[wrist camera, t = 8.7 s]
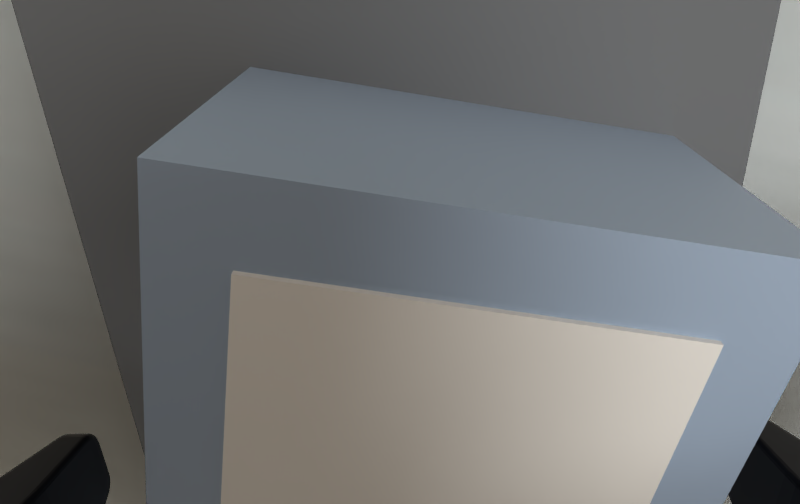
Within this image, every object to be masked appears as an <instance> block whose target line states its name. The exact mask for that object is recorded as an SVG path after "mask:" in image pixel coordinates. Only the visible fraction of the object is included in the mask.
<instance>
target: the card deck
mask: <svg viewBox="0 0 800 504" xmlns="http://www.w3.org/2000/svg"><path fill="white" fill-rule="evenodd" d="M137 175H138V213H139V250H140V288H141V325H142V362H143V400H144V437H145V475H146V504H723V503H724V501H725V499H726V498H727V496H728V494H729V492H730V490H731V488H732V486H733V485H734V483H735V481H736V479H737V477H738V475H739V473H740V472H741V470H742V468H743V466H744V464H745V462H746V460H747V459H748V457H749V455H750V453H751V451H752V449H753V447H754V446H755V444H756V442H757V440H758V438H759V436H760V434H761V433H762V431H763V429H764V427H765V425H766V423H767V421H768V420H769V418H770V416H771V414H772V412H773V410H774V408H775V406H776V405H777V403H778V401H779V399H780V397H781V395H782V393H783V392H784V390H785V388H786V386H787V384H788V382H789V380H790V379H791V377H792V375H793V373H794V371H795V369H796V367H797V366H798V364H799V362H800V229H799V228H798V227H796V226H795V225H793V224H792V223H791V222H789V221H788V220H787V219H785V218H784V217H783V216H781V215H780V214H779V213H777V212H776V211H775V210H773V209H772V208H771V207H769V206H768V205H766V204H765V203H764V202H762V201H761V200H760V199H758V198H757V197H756V196H754V195H753V194H752V193H750V192H749V191H748V190H746V189H745V188H743V187H742V186H741V185H739V184H738V183H737V182H735V181H734V180H733V179H731V178H730V177H729V176H727V175H726V174H725V173H723V172H722V171H720V170H719V169H718V168H716V167H715V166H714V165H712V164H711V163H710V162H708V161H707V160H706V159H704V158H703V157H702V156H700V155H699V154H698V153H696V152H695V151H693V150H692V149H691V148H689V147H688V146H687V145H685V144H684V143H683V142H681V141H680V140H679V139H677V138H676V137H675V136H671V135H664V134H658V133H652V132H646V131H640V130H634V129H628V128H622V127H616V126H609V125H603V124H597V123H591V122H585V121H579V120H573V119H567V118H560V117H554V116H548V115H542V114H536V113H530V112H524V111H518V110H512V109H505V108H499V107H493V106H487V105H481V104H475V103H469V102H463V101H456V100H450V99H444V98H438V97H432V96H426V95H420V94H414V93H407V92H401V91H395V90H389V89H383V88H377V87H371V86H365V85H359V84H352V83H346V82H340V81H334V80H328V79H322V78H316V77H310V76H303V75H297V74H291V73H285V72H279V71H273V70H267V69H261V68H255V67H249V68H248V69H247V70H246V71H244V72H243V73H242V74H241V75H239V76H238V77H237V78H236V79H234V80H233V81H232V82H231V83H229V84H228V85H227V86H226V87H224V88H223V89H222V90H221V91H219V92H218V93H217V94H216V95H214V96H213V97H212V98H211V99H209V100H208V101H207V102H206V103H204V104H203V105H202V106H201V107H199V108H198V109H197V110H196V111H194V112H193V113H192V114H191V115H189V116H188V117H187V118H186V119H184V120H183V121H182V122H181V123H179V124H178V125H177V126H176V127H174V128H173V129H172V130H170V131H169V132H168V133H167V134H165V135H164V136H163V137H162V138H160V139H159V140H158V141H157V142H155V143H154V144H153V145H152V146H150V147H149V148H148V149H147V150H145V151H144V152H143V153H142V154H140V155H139V156H138V157H137Z"/></svg>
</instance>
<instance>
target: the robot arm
mask: <svg viewBox="0 0 800 504" xmlns="http://www.w3.org/2000/svg"><path fill="white" fill-rule="evenodd" d="M109 489H110V476H109V472H108V469H107V466H106V463H105V460H104V457H103V454H102V451H101V448H100V445H99V442H98V440H97V438H96V437H95V436H94V435H92V434H67V435H63V436H61V437H59V438H58V439H56V440H55V441H53V442H52V443H50V444H49V445H47V446H46V447H44V448H43V449H42V450H40V451H39V452H37V453H36V454H34V455H33V456H31V457H30V458H28V459H27V460H25V461H24V462H22V463H21V464H19V465H18V466H16V467H15V468H14V469H12V470H11V471H9V472H8V473H6V474H5V475H3V476H2V477H0V504H105V503H106V500H107V497H108V493H109ZM728 495H729V497H730V500H731V503H732V504H800V439H798V438H797V437H795V436H794V435H792V434H790V433H789V432H787V431H785V430H784V429H782V428H781V427H779V426H777V425H776V424H774V423H773V422H771V421H769V420H768V421H767V423H766V425H765V427H764V429H763V431H762V433H761V434H760V436H759V438H758V440H757V442H756V444H755V446H754V447H753V449H752V451H751V453H750V455H749V457H748V459H747V460H746V462H745V464H744V466H743V468H742V470H741V472H740V473H739V475H738V477H737V479H736V481H735V483H734V485H733V486H732V488H731V490H730V492H729V494H728Z"/></svg>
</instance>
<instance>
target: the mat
mask: <svg viewBox="0 0 800 504" xmlns="http://www.w3.org/2000/svg"><path fill="white" fill-rule="evenodd" d="M11 1H12V4H13V8H14V11H15V15H16V18H17V21H18V25H19V28H20V32H21V35H22V38H23V42H24V45H25V49H26V52H27V56H28V59H29V62H30V66H31V69H32V73H33V76H34V79H35V83H36V86H37V90H38V93H39V97H40V100H41V103H42V107H43V110H44V114H45V117H46V120H47V124H48V127H49V131H50V134H51V137H52V141H53V144H54V148H55V151H56V155H57V158H58V161H59V165H60V168H61V172H62V175H63V178H64V182H65V185H66V189H67V192H68V196H69V199H70V202H71V206H72V209H73V213H74V216H75V219H76V223H77V226H78V230H79V233H80V236H81V240H82V243H83V247H84V250H85V254H86V257H87V260H88V264H89V267H90V271H91V274H92V277H93V281H94V284H95V288H96V291H97V295H98V298H99V301H100V305H101V308H102V312H103V315H104V318H105V322H106V325H107V329H108V332H109V336H110V339H111V342H112V346H113V349H114V353H115V356H116V359H117V363H118V366H119V370H120V373H121V376H122V380H123V383H124V387H125V390H126V394H127V397H128V400H129V404H130V407H131V411H132V414H133V417H134V421H135V424H136V428H137V431H138V435H139V438H140V441H141V445H142V448H143V452H144V455H145V437H144V400H143V362H142V325H141V288H140V250H139V213H138V175H137V157H138V156H139V155H140V154H142V153H143V152H144V151H145V150H147V149H148V148H149V147H150V146H152V145H153V144H154V143H155V142H157V141H158V140H159V139H160V138H162V137H163V136H164V135H165V134H167V133H168V132H169V131H170V130H172V129H173V128H174V127H176V126H177V125H178V124H179V123H181V122H182V121H183V120H184V119H186V118H187V117H188V116H189V115H191V114H192V113H193V112H194V111H196V110H197V109H198V108H199V107H201V106H202V105H203V104H204V103H206V102H207V101H208V100H209V99H211V98H212V97H213V96H214V95H216V94H217V93H218V92H219V91H221V90H222V89H223V88H224V87H226V86H227V85H228V84H229V83H231V82H232V81H233V80H234V79H236V78H237V77H238V76H239V75H241V74H242V73H243V72H244V71H246V70H247V69H248V68H249V67H255V68H261V69H267V70H273V71H279V72H285V73H291V74H297V75H303V76H310V77H316V78H322V79H328V80H334V81H340V82H346V83H352V84H359V85H365V86H371V87H377V88H383V89H389V90H395V91H401V92H407V93H414V94H420V95H426V96H432V97H438V98H444V99H450V100H456V101H463V102H469V103H475V104H481V105H487V106H493V107H499V108H505V109H512V110H518V111H524V112H530V113H536V114H542V115H548V116H554V117H560V118H567V119H573V120H579V121H585V122H591V123H597V124H603V125H609V126H616V127H622V128H628V129H634V130H640V131H646V132H652V133H658V134H664V135H671V136H675V137H676V138H677V139H679V140H680V141H681V142H683V143H684V144H685V145H687V146H688V147H689V148H691V149H692V150H693V151H695V152H696V153H698V154H699V155H700V156H702V157H703V158H704V159H706V160H707V161H708V162H710V163H711V164H712V165H714V166H715V167H716V168H718V169H719V170H720V171H722V172H723V173H725V174H726V175H727V176H729V177H730V178H731V179H733V180H734V181H735V182H737V183H738V184H739V185H741V186H742V185H743V180H744V176H745V171H746V166H747V161H748V156H749V152H750V147H751V142H752V137H753V133H754V128H755V123H756V118H757V113H758V109H759V104H760V99H761V94H762V89H763V85H764V80H765V75H766V70H767V66H768V61H769V56H770V51H771V46H772V42H773V37H774V32H775V27H776V22H777V18H778V13H779V8H780V3H781V0H11Z"/></svg>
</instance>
